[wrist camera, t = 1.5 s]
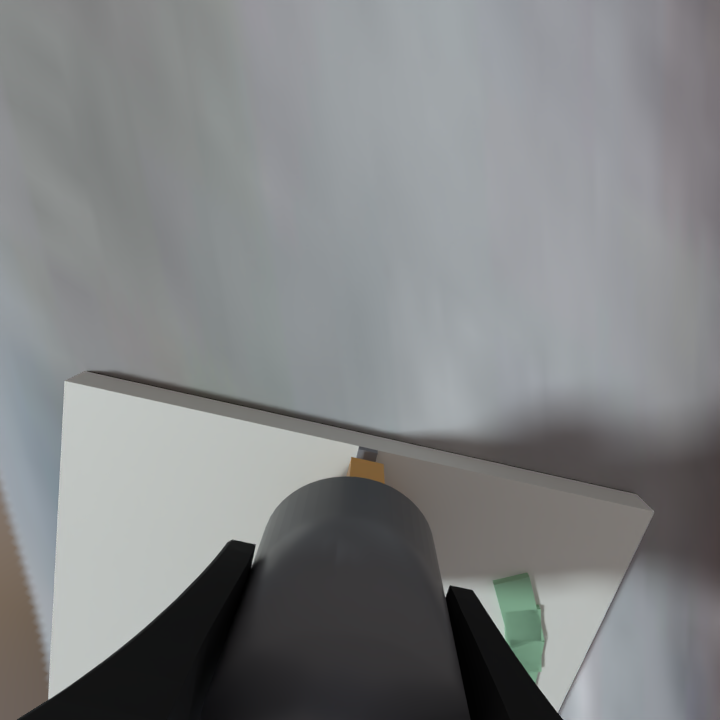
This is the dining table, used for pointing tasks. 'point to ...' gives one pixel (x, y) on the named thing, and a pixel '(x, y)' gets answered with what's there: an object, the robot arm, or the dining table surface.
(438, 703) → the dial knob
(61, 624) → the dial plate
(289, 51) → the dining table surface
